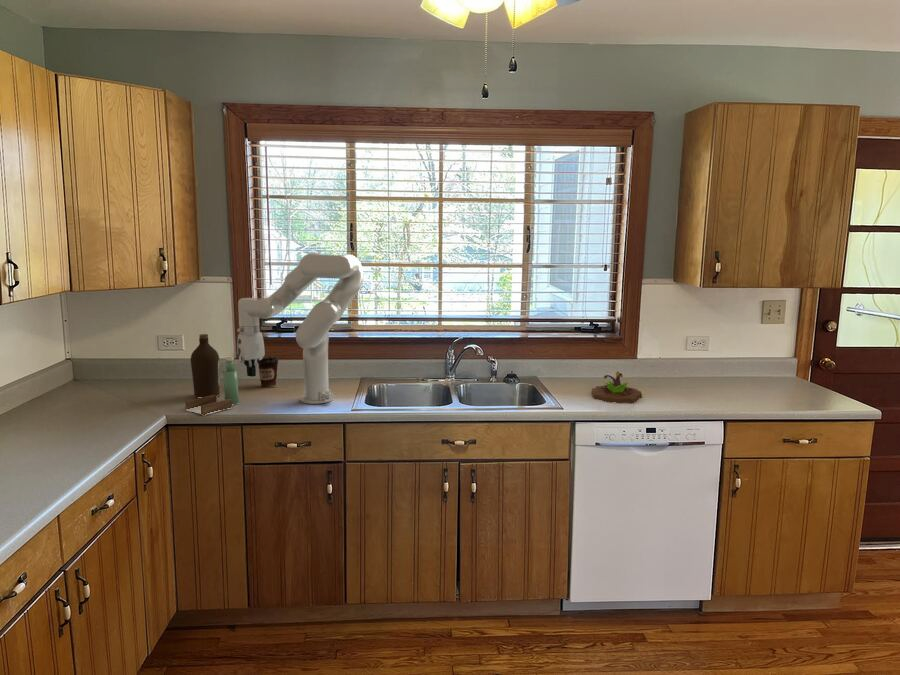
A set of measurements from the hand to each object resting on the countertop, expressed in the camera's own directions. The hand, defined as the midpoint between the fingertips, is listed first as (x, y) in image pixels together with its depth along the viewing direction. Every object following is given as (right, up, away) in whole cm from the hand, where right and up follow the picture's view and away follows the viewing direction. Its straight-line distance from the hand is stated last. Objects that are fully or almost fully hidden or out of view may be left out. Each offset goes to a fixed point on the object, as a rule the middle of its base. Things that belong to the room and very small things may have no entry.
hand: (251, 375), depth 252 cm
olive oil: (-19, -9, +4) cm, 21 cm away
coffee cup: (+1, -6, +20) cm, 21 cm away
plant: (+146, -10, +9) cm, 146 cm away
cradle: (-11, -12, -14) cm, 22 cm away
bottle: (-6, -10, -6) cm, 13 cm away
